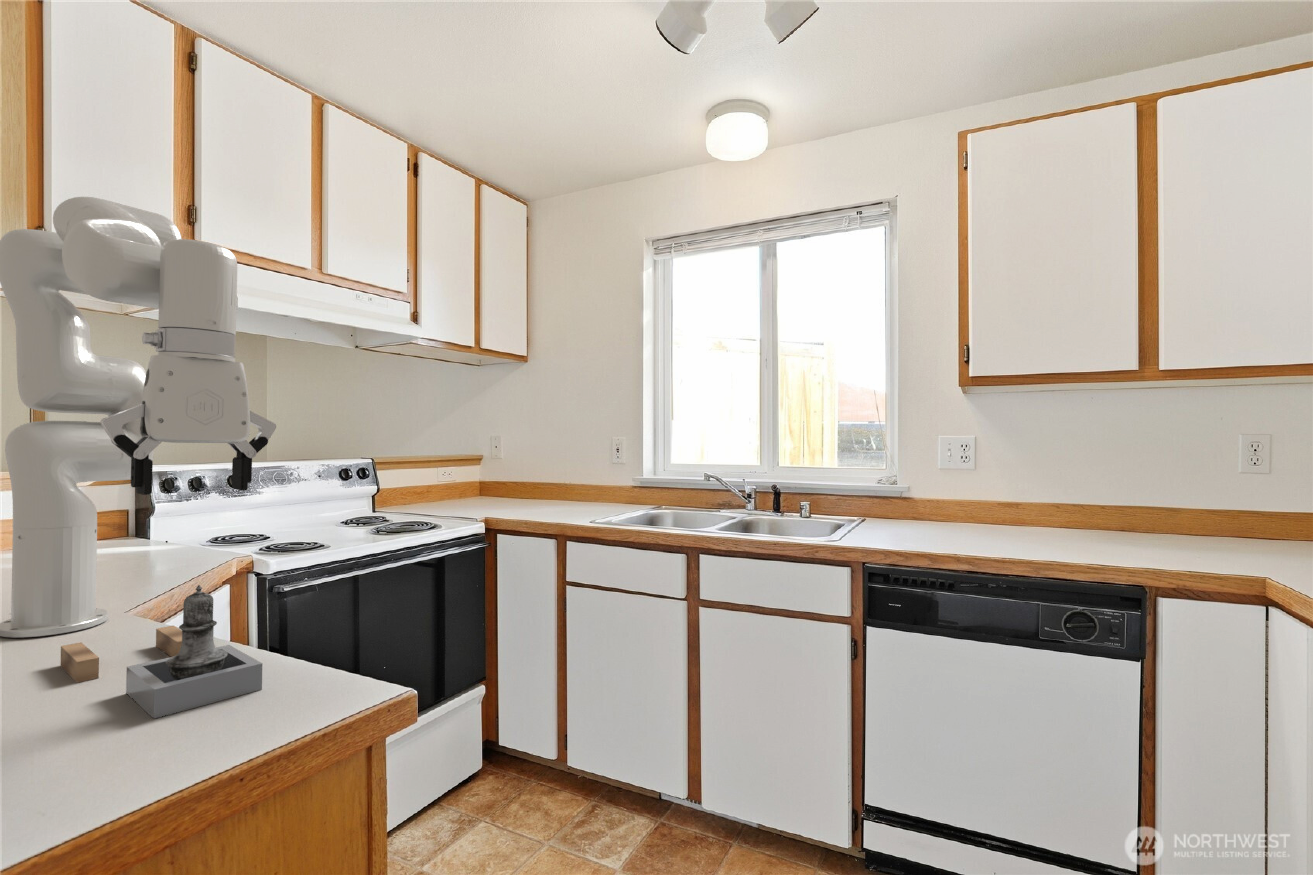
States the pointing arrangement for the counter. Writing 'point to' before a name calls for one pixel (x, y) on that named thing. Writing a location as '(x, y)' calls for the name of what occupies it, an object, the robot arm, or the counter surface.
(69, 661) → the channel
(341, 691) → the counter surface
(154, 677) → the square tray
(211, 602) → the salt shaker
